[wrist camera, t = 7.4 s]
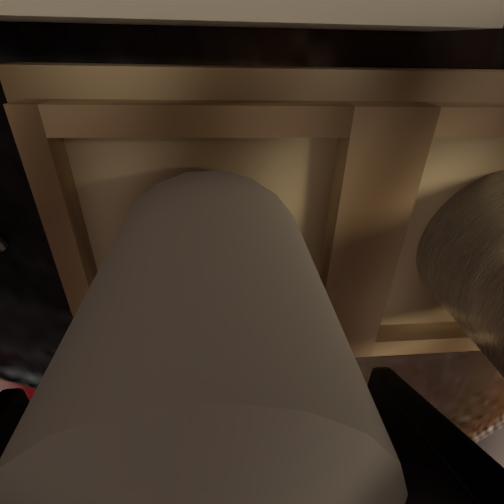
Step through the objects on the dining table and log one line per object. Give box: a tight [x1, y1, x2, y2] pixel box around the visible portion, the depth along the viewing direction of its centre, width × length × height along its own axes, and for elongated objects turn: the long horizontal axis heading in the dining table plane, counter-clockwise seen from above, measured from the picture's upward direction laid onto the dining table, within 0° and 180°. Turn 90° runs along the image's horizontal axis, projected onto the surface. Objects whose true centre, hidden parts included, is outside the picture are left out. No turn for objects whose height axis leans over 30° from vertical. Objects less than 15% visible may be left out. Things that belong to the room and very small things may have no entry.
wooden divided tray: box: [0, 62, 504, 357], centre depth 16 cm, size 26×14×3 cm, turn 89°
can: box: [0, 170, 408, 504], centre depth 10 cm, size 8×8×12 cm
